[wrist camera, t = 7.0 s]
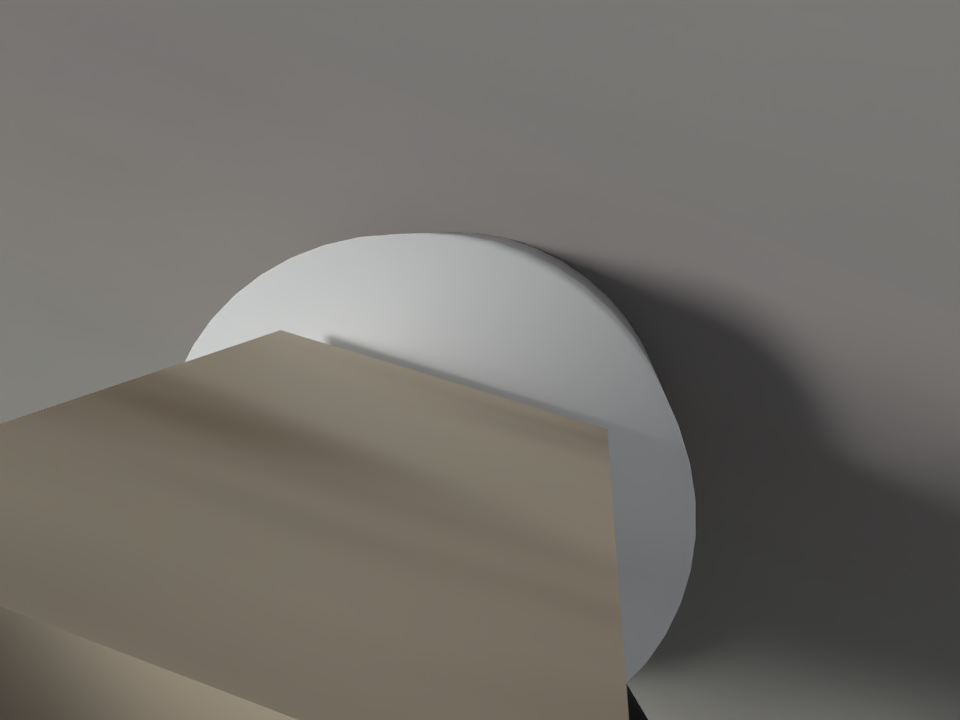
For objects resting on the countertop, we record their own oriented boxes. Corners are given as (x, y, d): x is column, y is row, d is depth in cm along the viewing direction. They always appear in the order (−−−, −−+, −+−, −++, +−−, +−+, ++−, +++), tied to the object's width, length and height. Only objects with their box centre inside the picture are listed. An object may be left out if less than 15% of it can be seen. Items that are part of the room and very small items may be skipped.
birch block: (513, 710, 10) (401, 1400, 4) (232, 608, 10) (-219, 1088, 5) (606, 429, 9) (639, 849, 3) (280, 329, 9) (-254, 509, 3)
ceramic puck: (594, 662, 14) (595, 821, 11) (249, 542, 15) (135, 648, 12) (726, 296, 12) (788, 329, 8) (311, 185, 13) (196, 168, 9)
